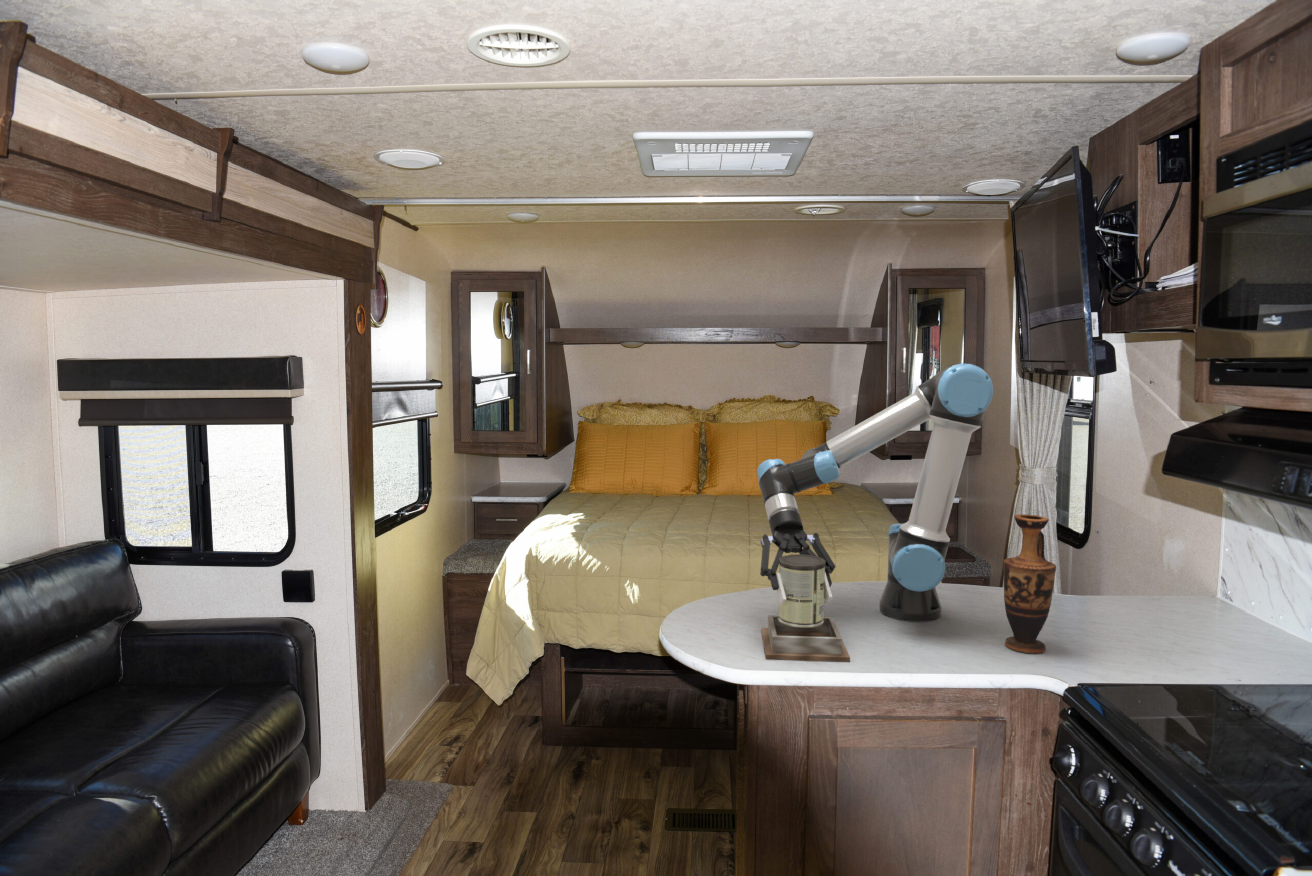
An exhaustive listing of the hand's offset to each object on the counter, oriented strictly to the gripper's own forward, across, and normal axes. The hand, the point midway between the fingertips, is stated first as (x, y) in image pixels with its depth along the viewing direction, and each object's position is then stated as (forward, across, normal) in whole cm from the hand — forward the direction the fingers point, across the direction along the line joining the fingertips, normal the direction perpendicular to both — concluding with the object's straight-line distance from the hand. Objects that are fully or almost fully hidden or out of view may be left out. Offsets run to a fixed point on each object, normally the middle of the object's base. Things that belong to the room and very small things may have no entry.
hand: (806, 600), depth 180 cm
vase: (+13, -50, -3) cm, 52 cm away
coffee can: (+2, 0, -6) cm, 6 cm away
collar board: (+6, -1, -10) cm, 12 cm away
